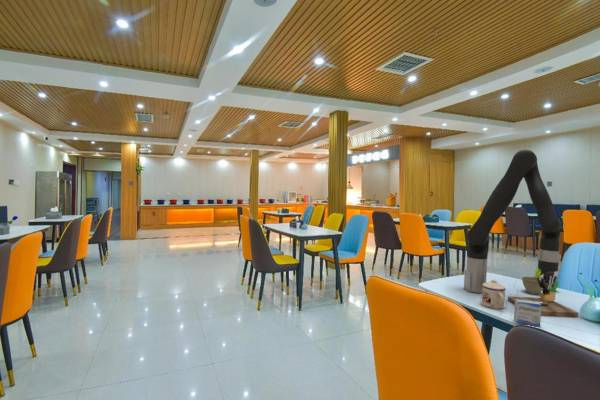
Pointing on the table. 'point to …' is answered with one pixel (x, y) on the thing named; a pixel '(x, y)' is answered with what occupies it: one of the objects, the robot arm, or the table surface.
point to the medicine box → (527, 312)
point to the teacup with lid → (493, 295)
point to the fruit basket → (537, 273)
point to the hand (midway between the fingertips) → (545, 296)
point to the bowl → (531, 285)
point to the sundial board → (550, 308)
